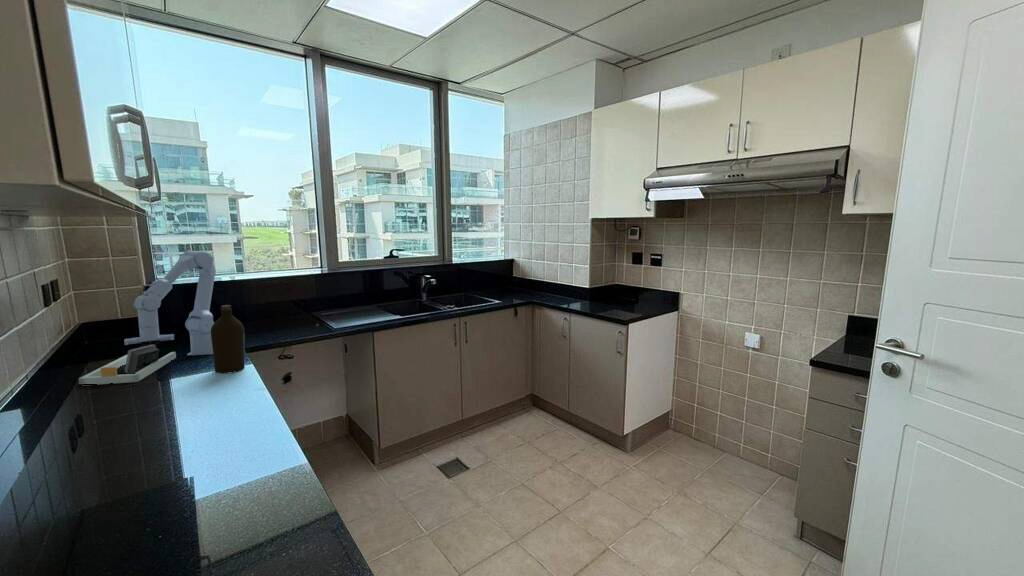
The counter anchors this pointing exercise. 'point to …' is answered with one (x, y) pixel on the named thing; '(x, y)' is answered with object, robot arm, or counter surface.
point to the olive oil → (227, 342)
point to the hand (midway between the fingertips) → (151, 360)
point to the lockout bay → (109, 374)
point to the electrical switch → (141, 358)
